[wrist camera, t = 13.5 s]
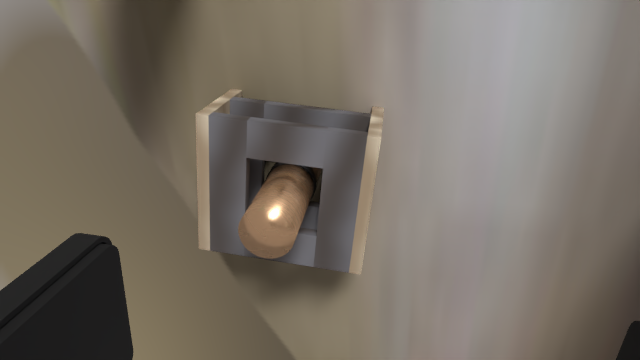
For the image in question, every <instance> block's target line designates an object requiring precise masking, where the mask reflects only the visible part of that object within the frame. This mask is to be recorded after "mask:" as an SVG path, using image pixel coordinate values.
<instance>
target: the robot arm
mask: <svg viewBox="0 0 640 360" xmlns="http://www.w3.org/2000/svg"><path fill="white" fill-rule="evenodd" d="M132 358H133V346H132V339H131V332H130V325H129V318H128V312H127V304H126V298H125V291H124V284H123V277H122V270H121V263H120V257H119V251H118V249H117V247H115V246H114V245H112V243H111V241H110V239H109V238H107V237H104V236H97V235H90V234H83V233H78V234H74V235H72V236H71V237H70V238H68V239H67V240H66V241H64V242H63V243H62V244H60V245H59V246H58V247H57V248H55V249H54V250H53V251H51V252H50V253H49V254H48V255H46V256H45V257H44V258H43V259H41V260H40V261H39V262H37V263H36V264H35V265H33V266H32V267H31V268H30V269H28V270H27V271H25V272H24V273H23V274H21V275H20V276H19V277H18V278H16V279H15V280H14V281H12V282H11V283H10V284H8V285H7V286H6V287H5V288H3V289H2V290H1V291H0V360H132ZM616 360H640V321H634V322H633V323H632V324H631V325H630V327H629V329H628V331H627V334H626V336H625V339H624V341H623V344H622V346H621V348H620V351H619V353H618V356H617V358H616Z"/></svg>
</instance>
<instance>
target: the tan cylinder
mask: <svg viewBox="0 0 640 360" xmlns="http://www.w3.org/2000/svg"><path fill="white" fill-rule="evenodd" d="M321 170H322V168H316V167H309V166H301V165H294V164H287V163H280V162H277V163H276V164H275V165H274V166H273V167H272V169H271V170H270V172H269V173H268V175H267V178H266V180H265V182H264V184H263V185H262V187H261V188H260V190H259V191H258V193H257V195H256V196H255V198H254V199H253V201H252V203H251V204H250V206H249V207H248V209H247V210H246V212H245V214H244V215H243V217H242V218H241V220H240V222H239V226H238V233H239V237H240V240H241V242H242V244H243V245H244V246H245V248H246V249H247V250H249V251H250V252H251V253H253V254H254V255H257V256H259V257H262V258H268V259H273V258H278V257H281V256H283V255H285V254H287V253H288V252H289V251H290V250H291V248H292V247H293V245H294V242H295V239H296V237H297V234H298V231H299V229H300V226H301V223H302V221H303V218H304V215H305V213H306V210H307V208H308V205H309V202H310V200H311V199H312V197H313V195H314V192H315V189H316V185H317V181H318V178H319V176H320V173H321Z"/></svg>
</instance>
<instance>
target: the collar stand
mask: <svg viewBox="0 0 640 360" xmlns="http://www.w3.org/2000/svg"><path fill="white" fill-rule="evenodd" d="M383 111H384V108H381V107H372V113H371V114H367V113H359V112H351V111H343V110H335V109H327V108H319V107H312V106H304V105H296V104H288V103H280V102H272V101H264V100H256V99H248V98H242V90H236V89H231V90H229V91H228V92H226V93H225V94H224V95H222V96H221V97H219V98H218V99H216V100H215V101H213V102H212V103H211V104H209V105H208V106H206V107H205V108H203V109H202V110H201V111H199V112H198V113H196V149H197V191H198V233H199V249H204V250H210V251H216V252H222V253H229V254H235V255H241V256H248V257H254V258H260V259H266V260H273V261H279V262H285V263H291V264H298V265H304V266H310V267H317V268H323V269H329V270H335V271H342V272H348V273H354V274H360V275H361V270H362V264H363V257H364V250H365V244H366V237H367V230H368V223H369V217H370V210H371V203H372V197H373V190H374V183H375V177H376V170H377V163H378V157H379V150H380V143H381V135H382V123H383ZM265 161H272V162H280V163H287V164H294V165H301V166H309V167H316V168H323V174H322V184H321V195H320V203H319V202H312V201H310V202H309V205H308V208H307V210H306V213H305V215H304V218H303V221H302V223H301V226H300V229H299V231H298V234H297V237H296V239H295V242H294V245H293V247H292V248H291V250H290V251H289V252H288V253H287V254H285V255H283V256H281V257H278V258H273V259H268V258H262V257H259V256H257V255H254V254H253V253H251V252H250V251H249V250H247V249H246V248H245V246H244V245H243V244H242V242H241V240H240V237H239V233H238V226H239V222H240V220H241V218H242V217H243V215H244V214H245V212H246V210H247V209H248V207H249V206H250V204H251V203H252V201H253V199H254V198H255V196H256V195H257V193H258V191H259V190H260V188H261V187H262V185H263V184H264V166H265Z"/></svg>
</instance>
